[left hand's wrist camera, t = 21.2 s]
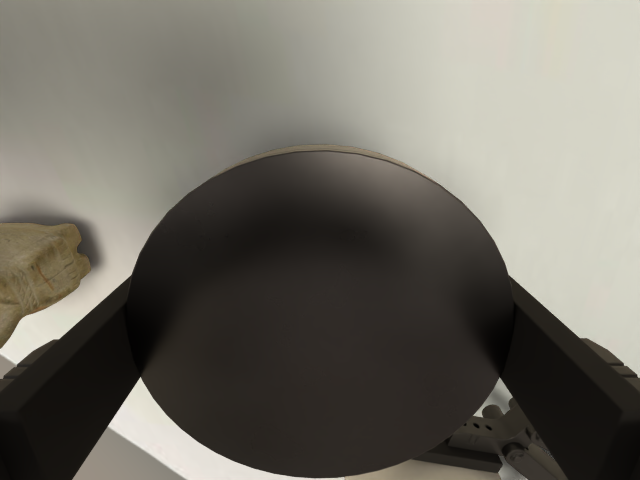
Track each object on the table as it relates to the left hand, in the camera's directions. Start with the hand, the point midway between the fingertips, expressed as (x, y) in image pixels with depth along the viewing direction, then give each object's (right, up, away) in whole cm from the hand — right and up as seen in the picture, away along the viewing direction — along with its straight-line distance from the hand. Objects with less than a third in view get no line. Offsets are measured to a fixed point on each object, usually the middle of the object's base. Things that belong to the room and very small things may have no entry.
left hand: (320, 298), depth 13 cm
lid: (0, -1, -2) cm, 2 cm away
